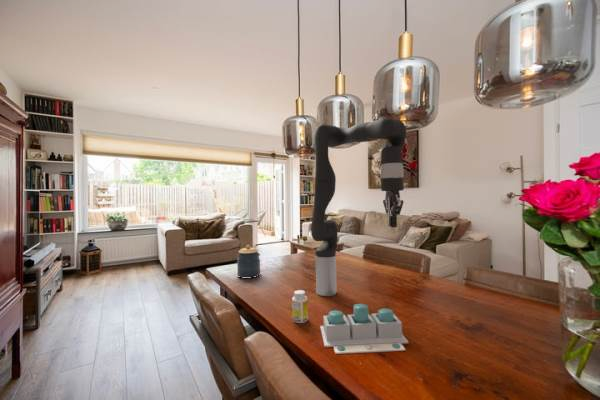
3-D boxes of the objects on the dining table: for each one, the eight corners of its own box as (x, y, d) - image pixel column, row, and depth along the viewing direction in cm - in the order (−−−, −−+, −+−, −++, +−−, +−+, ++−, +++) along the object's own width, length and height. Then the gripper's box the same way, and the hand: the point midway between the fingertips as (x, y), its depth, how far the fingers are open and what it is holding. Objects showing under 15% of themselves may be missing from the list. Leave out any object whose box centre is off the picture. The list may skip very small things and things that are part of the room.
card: (333, 347, 79) (333, 345, 79) (400, 344, 80) (400, 342, 80) (335, 353, 76) (335, 351, 76) (405, 350, 77) (405, 348, 77)
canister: (233, 278, 150) (232, 246, 150) (244, 271, 162) (243, 242, 162) (254, 279, 146) (253, 247, 146) (264, 273, 158) (263, 243, 158)
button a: (328, 329, 88) (327, 310, 88) (342, 328, 88) (341, 310, 88) (330, 336, 83) (329, 317, 83) (345, 335, 83) (344, 316, 83)
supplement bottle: (307, 316, 100) (306, 288, 100) (309, 323, 95) (308, 294, 95) (292, 317, 100) (291, 289, 100) (293, 324, 94) (292, 295, 94)
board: (320, 327, 91) (319, 312, 91) (393, 324, 92) (392, 309, 92) (324, 347, 79) (324, 330, 79) (408, 343, 80) (408, 326, 80)
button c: (376, 326, 88) (376, 308, 88) (390, 326, 89) (390, 308, 89) (381, 334, 84) (381, 314, 84) (396, 333, 84) (395, 314, 84)
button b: (352, 322, 88) (351, 304, 88) (366, 321, 88) (365, 303, 88) (355, 329, 84) (355, 310, 83) (370, 328, 84) (370, 309, 84)
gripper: (375, 178, 100) (376, 225, 100) (388, 176, 87) (389, 229, 87) (395, 178, 100) (396, 224, 101) (411, 175, 87) (412, 229, 88)
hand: (393, 227), depth 94 cm, fingers closed
